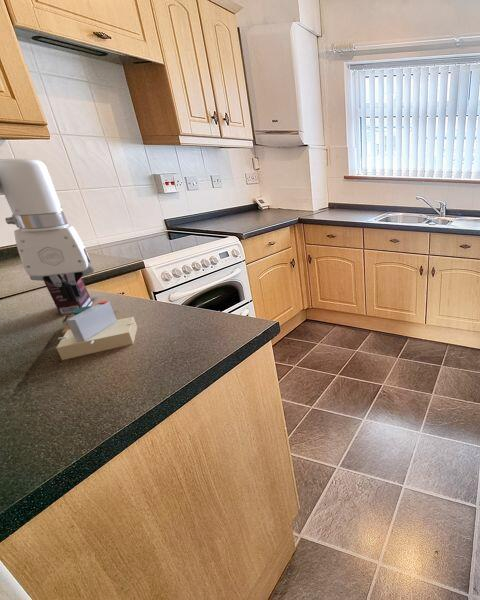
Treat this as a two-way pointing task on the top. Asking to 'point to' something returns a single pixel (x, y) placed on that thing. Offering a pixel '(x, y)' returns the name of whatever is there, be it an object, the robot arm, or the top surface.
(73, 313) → the button
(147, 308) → the top surface
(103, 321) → the pale blue rectangular brick
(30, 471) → the top surface
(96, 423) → the top surface
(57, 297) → the supplement box
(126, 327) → the low beige pedestal
